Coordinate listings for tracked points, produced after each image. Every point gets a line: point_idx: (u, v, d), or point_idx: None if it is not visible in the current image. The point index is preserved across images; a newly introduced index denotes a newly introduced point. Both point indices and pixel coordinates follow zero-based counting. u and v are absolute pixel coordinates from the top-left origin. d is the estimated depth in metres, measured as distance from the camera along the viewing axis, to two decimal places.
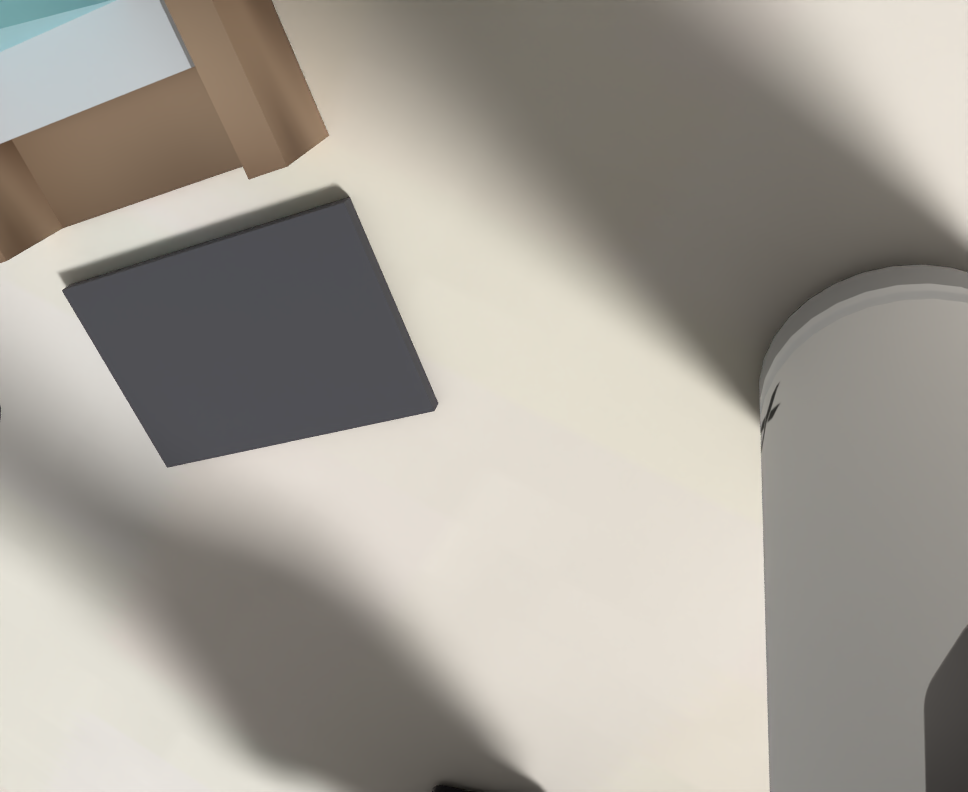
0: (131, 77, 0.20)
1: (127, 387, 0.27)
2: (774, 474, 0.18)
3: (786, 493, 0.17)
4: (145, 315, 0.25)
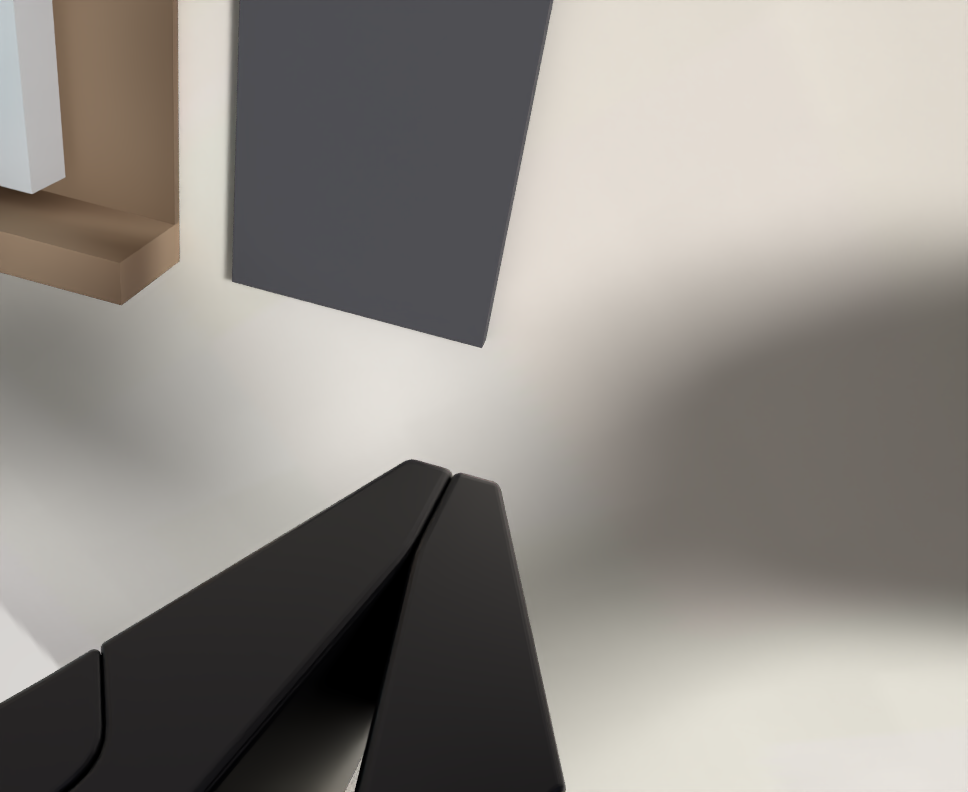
0: None
1: (365, 307, 0.21)
2: None
3: None
4: (291, 210, 0.20)
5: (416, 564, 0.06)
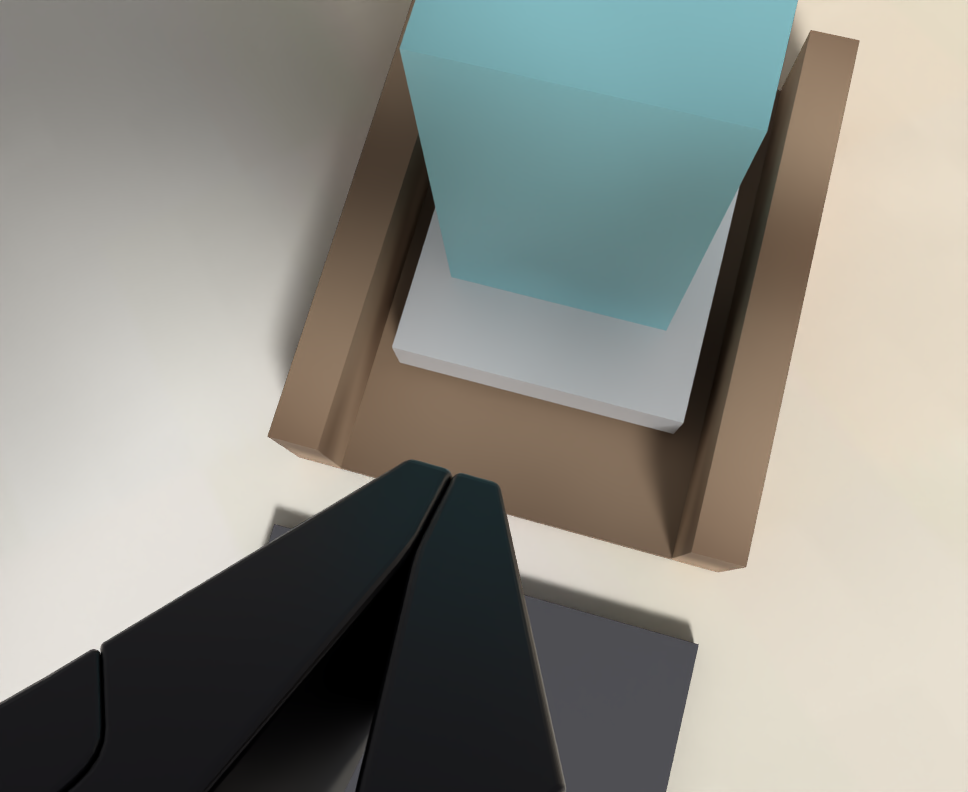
0: (612, 390, 0.18)
1: None
2: None
3: None
4: None
5: (416, 564, 0.06)
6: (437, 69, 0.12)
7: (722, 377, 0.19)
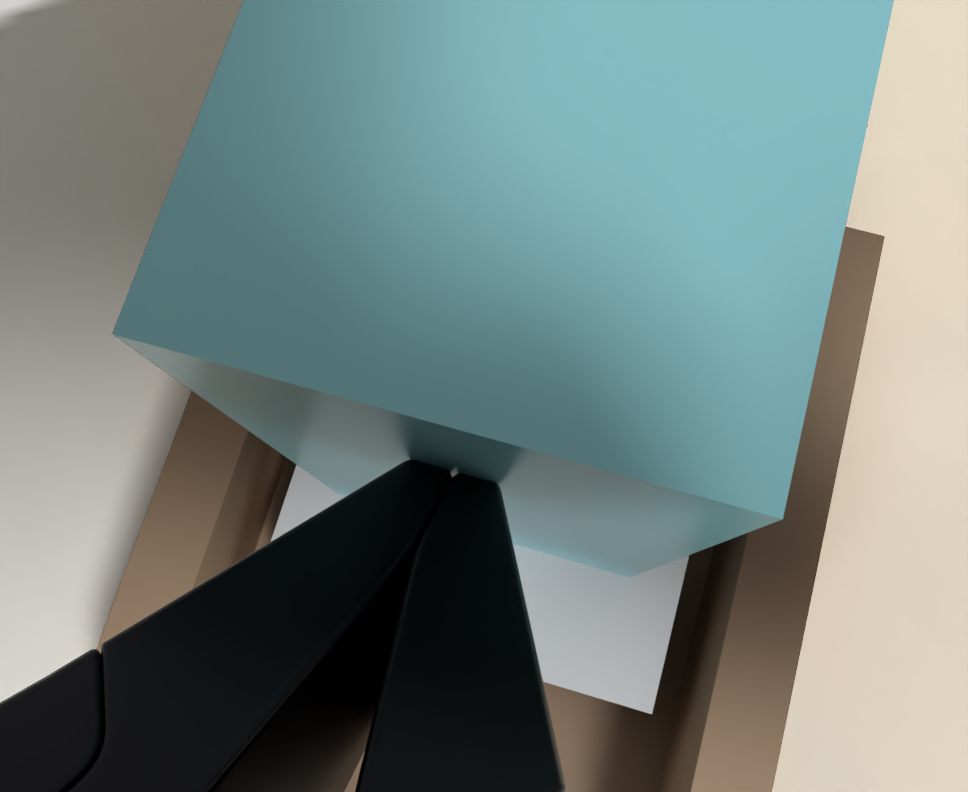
0: (555, 664, 0.13)
1: None
2: None
3: None
4: None
5: (416, 564, 0.06)
6: (190, 362, 0.06)
7: (692, 707, 0.13)
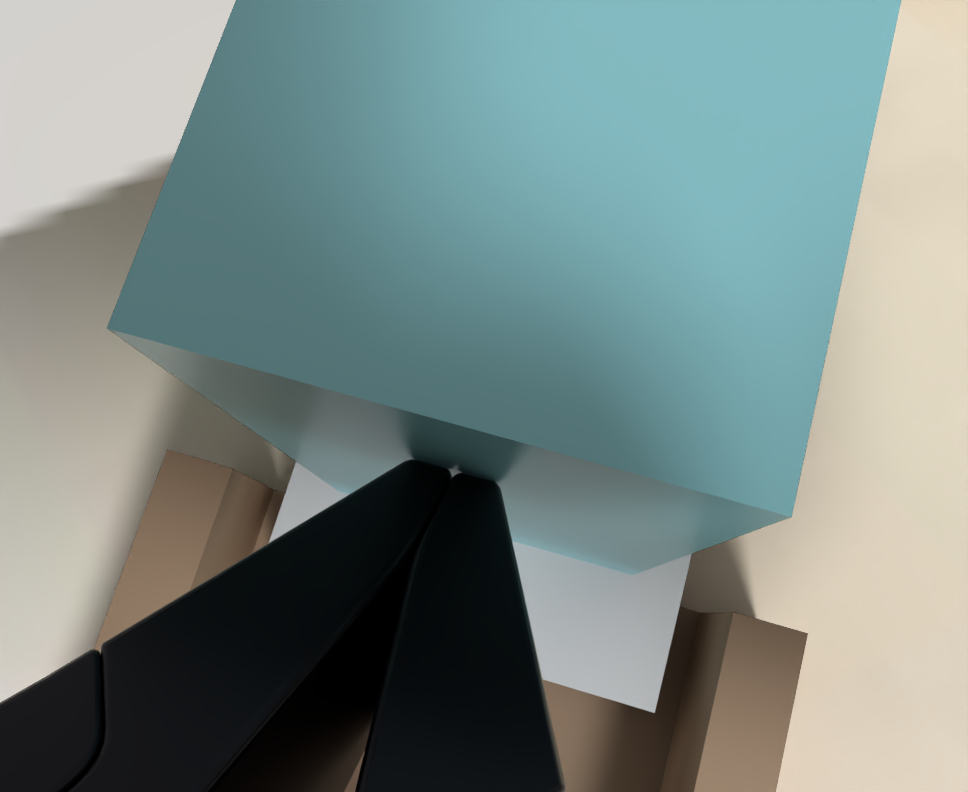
0: (557, 663, 0.13)
1: None
2: None
3: None
4: None
5: (415, 563, 0.06)
6: (186, 356, 0.06)
7: None
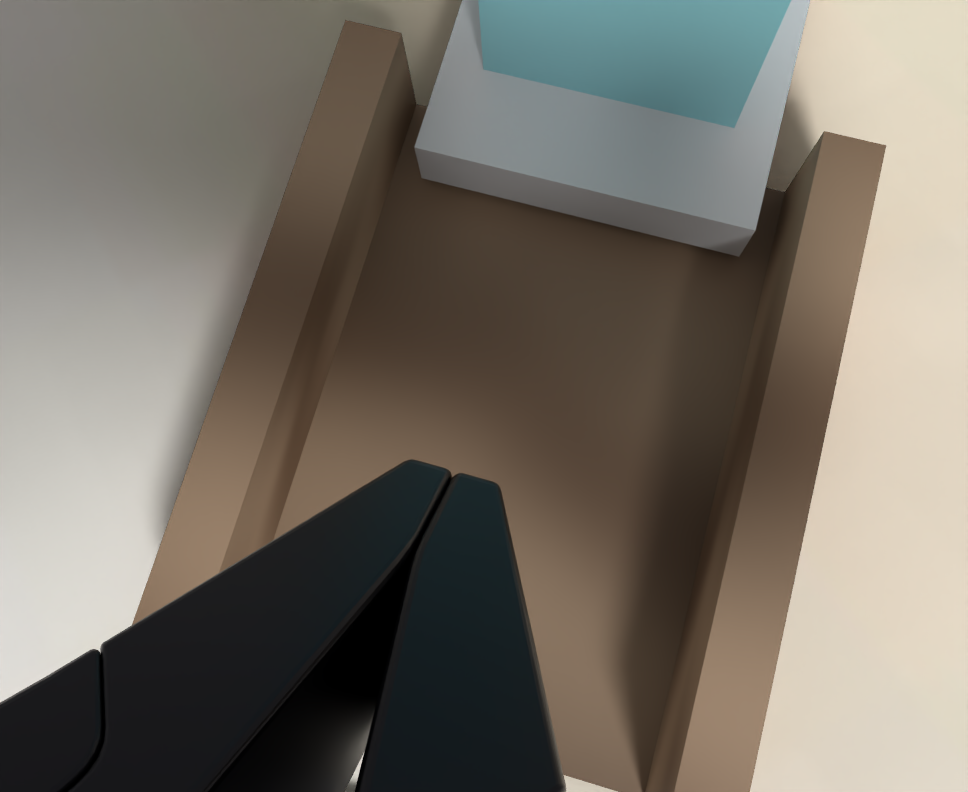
0: (672, 195, 0.16)
1: None
2: None
3: None
4: None
5: (416, 564, 0.06)
6: None
7: (708, 575, 0.15)
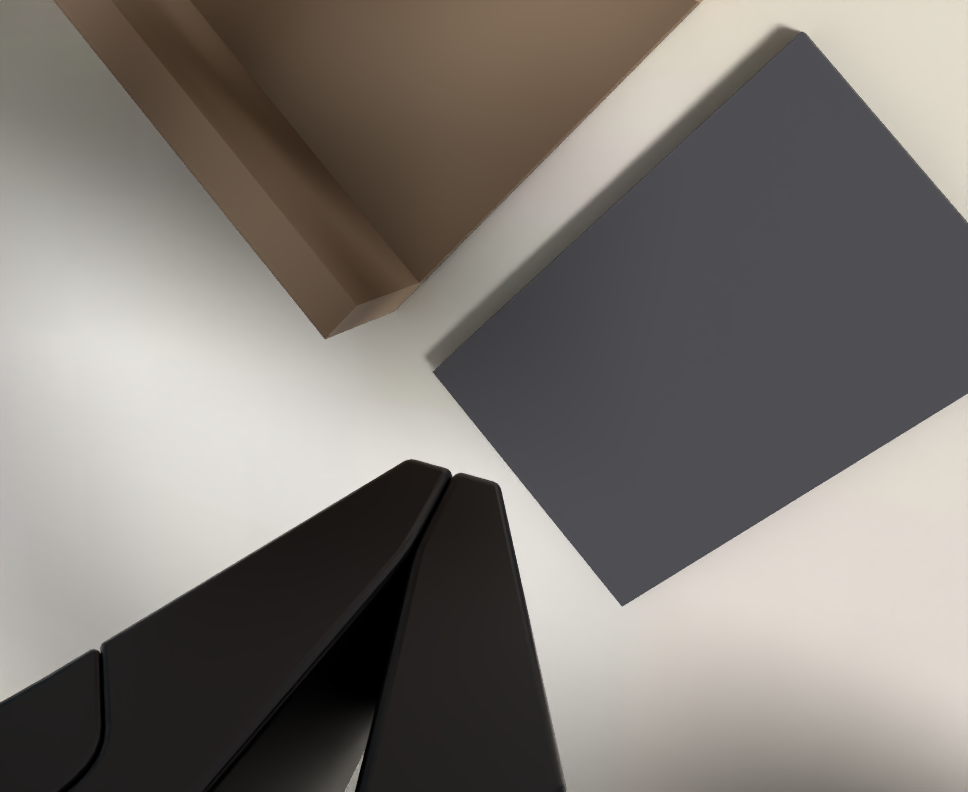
0: None
1: (541, 490, 0.18)
2: None
3: None
4: (545, 361, 0.18)
5: (415, 564, 0.06)
6: None
7: None
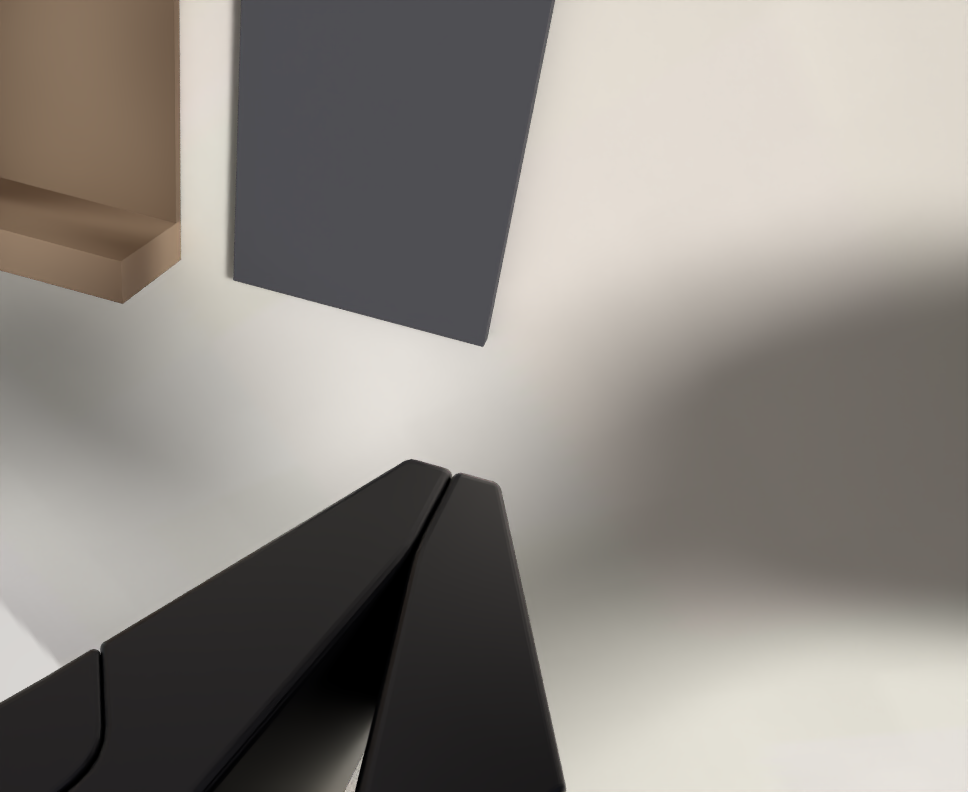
0: None
1: (366, 306, 0.21)
2: None
3: None
4: (292, 209, 0.20)
5: (416, 563, 0.06)
6: None
7: None
